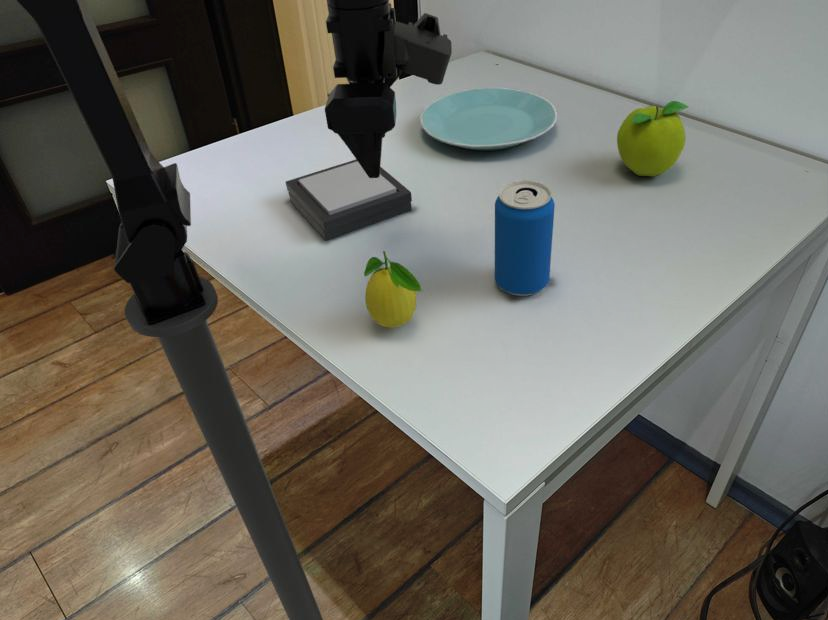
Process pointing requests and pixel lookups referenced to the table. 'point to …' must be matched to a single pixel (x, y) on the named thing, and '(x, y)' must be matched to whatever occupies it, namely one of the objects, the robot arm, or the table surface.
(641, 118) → the fruit
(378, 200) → the scale
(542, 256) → the beverage can
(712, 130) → the table surface
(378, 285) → the lemon
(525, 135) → the plate
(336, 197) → the scale pan
